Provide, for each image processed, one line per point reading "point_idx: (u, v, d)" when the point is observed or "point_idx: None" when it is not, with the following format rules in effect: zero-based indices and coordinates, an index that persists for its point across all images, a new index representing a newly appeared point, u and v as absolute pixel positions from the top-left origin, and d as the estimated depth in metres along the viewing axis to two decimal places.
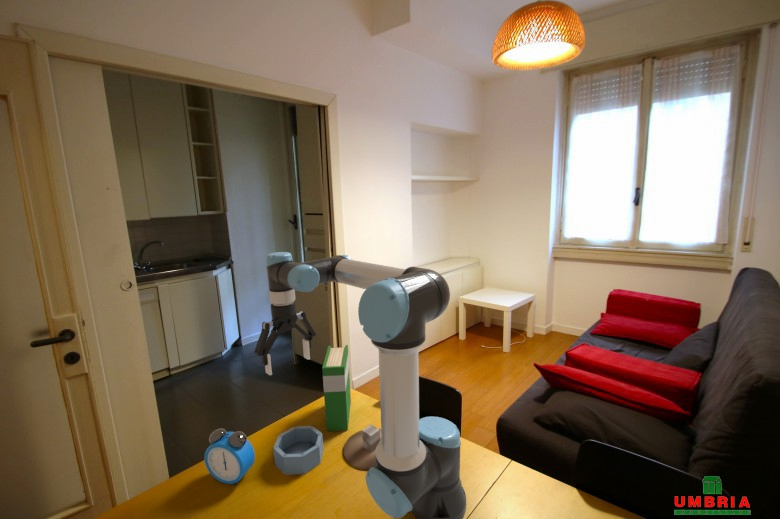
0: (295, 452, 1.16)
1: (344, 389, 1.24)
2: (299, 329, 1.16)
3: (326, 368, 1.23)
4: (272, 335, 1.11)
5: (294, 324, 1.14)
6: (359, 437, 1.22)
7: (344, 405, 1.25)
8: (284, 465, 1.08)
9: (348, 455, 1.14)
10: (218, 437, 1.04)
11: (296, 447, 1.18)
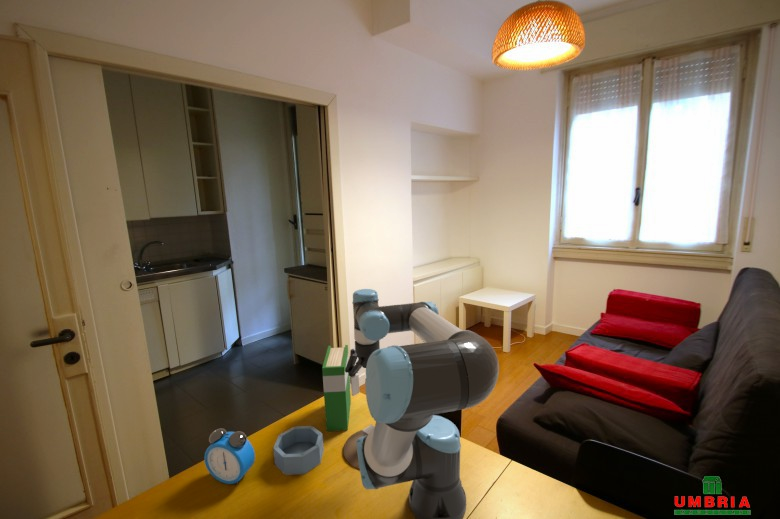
0: (295, 452, 1.16)
1: (344, 389, 1.24)
2: None
3: (326, 368, 1.23)
4: None
5: None
6: (359, 437, 1.22)
7: (344, 405, 1.25)
8: (284, 465, 1.08)
9: (348, 455, 1.14)
10: (218, 437, 1.04)
11: (296, 447, 1.18)
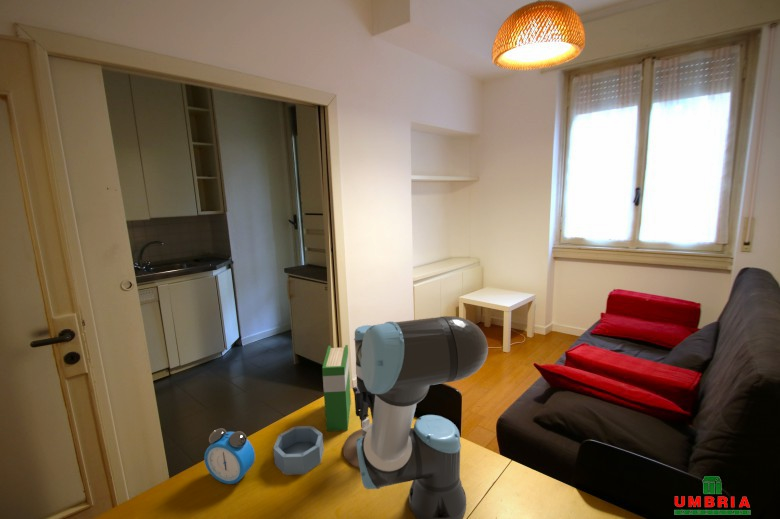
0: (295, 452, 1.16)
1: (344, 389, 1.24)
2: (371, 410, 1.13)
3: (326, 368, 1.23)
4: None
5: (368, 402, 1.12)
6: (359, 436, 1.22)
7: (344, 405, 1.25)
8: (284, 465, 1.08)
9: (348, 454, 1.14)
10: (218, 437, 1.04)
11: (296, 447, 1.18)
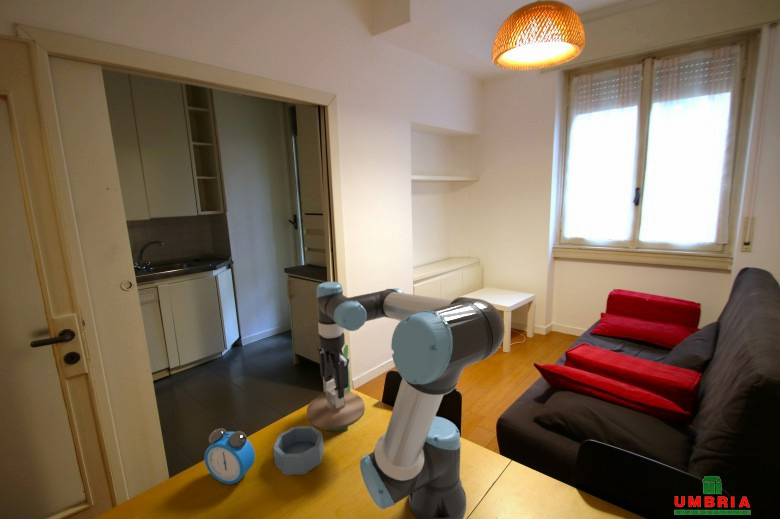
0: (295, 452, 1.16)
1: (344, 389, 1.24)
2: (334, 370, 1.09)
3: None
4: None
5: (331, 361, 1.08)
6: (325, 398, 1.19)
7: None
8: (284, 465, 1.08)
9: (310, 414, 1.11)
10: (218, 437, 1.04)
11: (296, 447, 1.18)
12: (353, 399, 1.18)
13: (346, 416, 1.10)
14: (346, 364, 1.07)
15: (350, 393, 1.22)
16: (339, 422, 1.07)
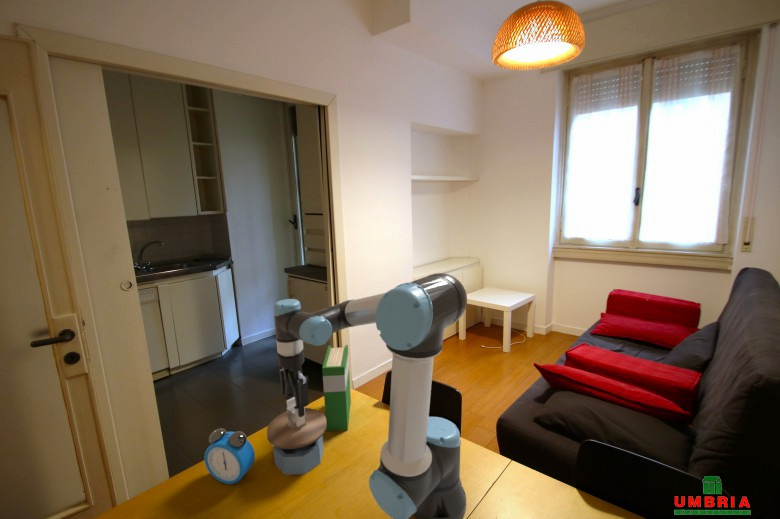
0: (295, 452, 1.16)
1: (344, 389, 1.24)
2: (293, 388, 1.08)
3: (326, 368, 1.23)
4: None
5: (290, 379, 1.07)
6: None
7: (344, 405, 1.25)
8: (284, 465, 1.08)
9: (270, 433, 1.09)
10: (218, 437, 1.04)
11: None
12: (316, 416, 1.17)
13: (307, 434, 1.08)
14: (305, 382, 1.06)
15: (313, 410, 1.20)
16: (299, 440, 1.06)
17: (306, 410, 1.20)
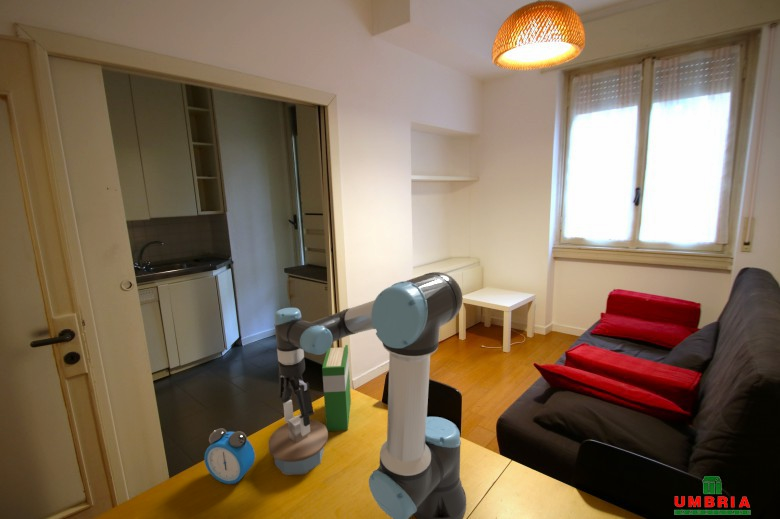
0: None
1: (344, 389, 1.24)
2: (296, 397, 1.07)
3: (326, 368, 1.23)
4: None
5: (291, 387, 1.07)
6: (288, 428, 1.18)
7: (344, 405, 1.25)
8: (284, 465, 1.08)
9: (272, 446, 1.10)
10: (218, 437, 1.04)
11: None
12: (317, 428, 1.17)
13: (308, 447, 1.09)
14: (307, 388, 1.06)
15: (314, 421, 1.21)
16: (300, 453, 1.06)
17: None
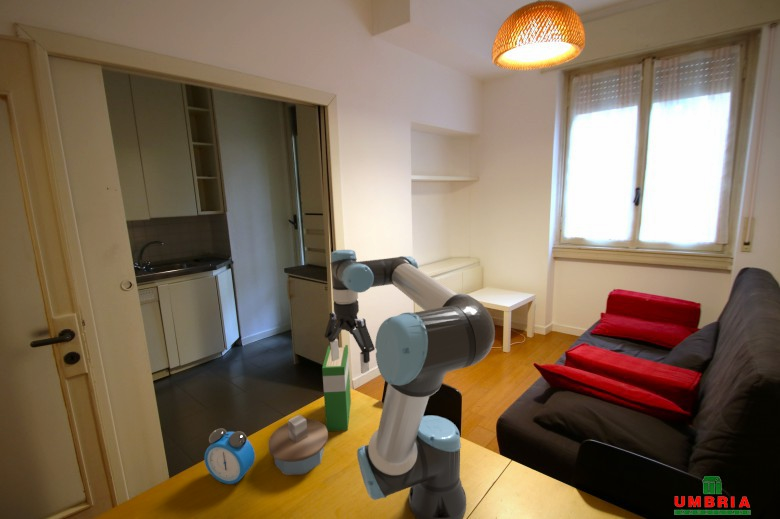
0: None
1: (344, 389, 1.24)
2: (354, 335, 1.09)
3: (326, 368, 1.23)
4: None
5: (348, 327, 1.09)
6: (288, 428, 1.18)
7: (344, 405, 1.25)
8: (284, 465, 1.08)
9: (272, 446, 1.10)
10: (218, 437, 1.04)
11: None
12: (317, 428, 1.17)
13: (308, 447, 1.09)
14: (364, 324, 1.08)
15: (314, 421, 1.21)
16: (300, 453, 1.06)
17: (307, 421, 1.21)
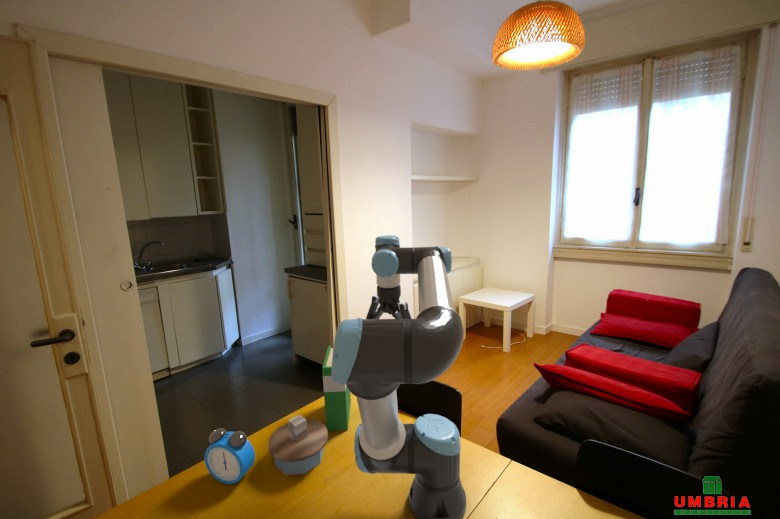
0: None
1: (344, 389, 1.24)
2: (396, 318, 1.13)
3: (326, 368, 1.23)
4: None
5: (390, 310, 1.13)
6: (288, 428, 1.18)
7: (344, 405, 1.25)
8: (284, 465, 1.08)
9: (272, 446, 1.10)
10: (218, 437, 1.04)
11: None
12: (317, 428, 1.17)
13: (308, 447, 1.09)
14: (406, 307, 1.11)
15: (314, 421, 1.21)
16: (300, 453, 1.06)
17: (307, 421, 1.21)
